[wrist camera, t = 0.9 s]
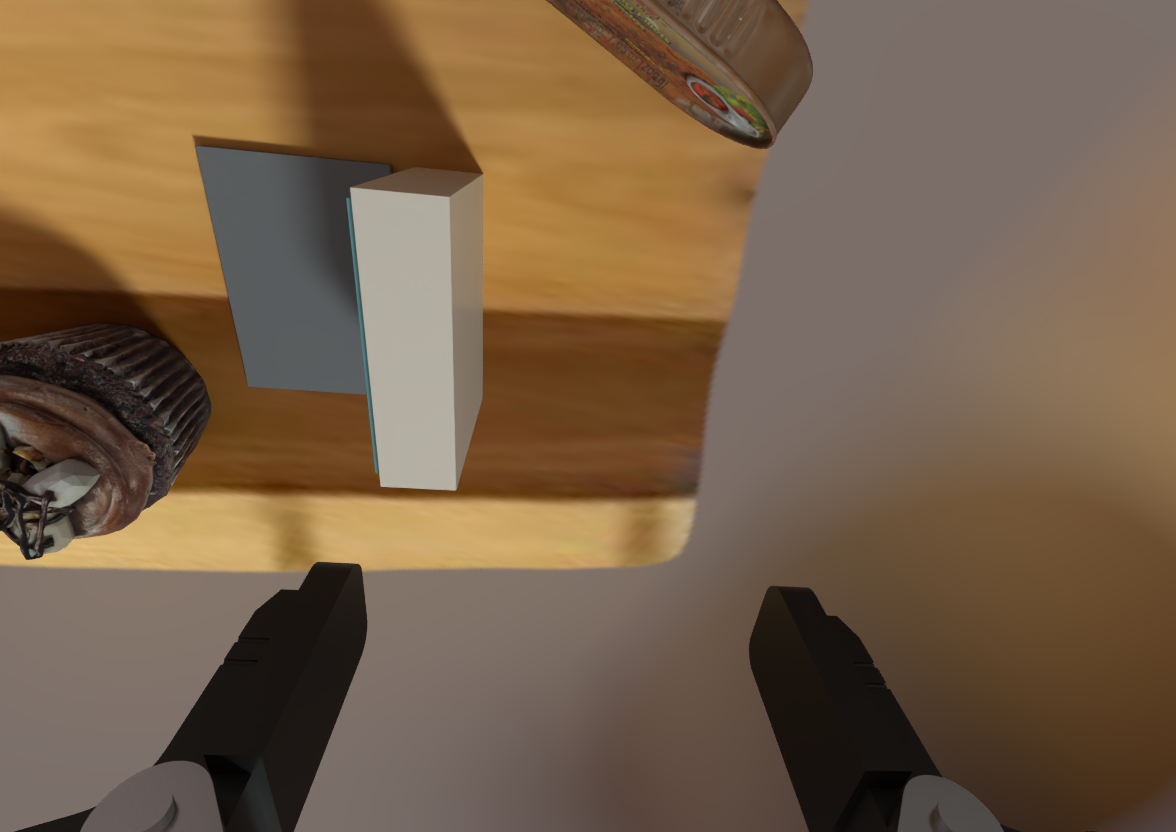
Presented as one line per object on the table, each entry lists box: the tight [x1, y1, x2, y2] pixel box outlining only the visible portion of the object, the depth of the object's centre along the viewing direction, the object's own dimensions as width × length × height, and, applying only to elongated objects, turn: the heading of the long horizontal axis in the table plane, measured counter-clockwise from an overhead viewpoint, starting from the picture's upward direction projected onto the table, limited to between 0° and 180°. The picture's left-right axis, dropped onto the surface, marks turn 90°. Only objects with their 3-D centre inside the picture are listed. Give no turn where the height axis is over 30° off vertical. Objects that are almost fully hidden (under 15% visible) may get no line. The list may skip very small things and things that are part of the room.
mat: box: [196, 146, 392, 394], centre depth 28 cm, size 12×8×1 cm
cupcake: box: [0, 323, 211, 560], centre depth 26 cm, size 10×10×10 cm
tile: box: [346, 167, 483, 490], centre depth 25 cm, size 12×4×9 cm, turn 174°
